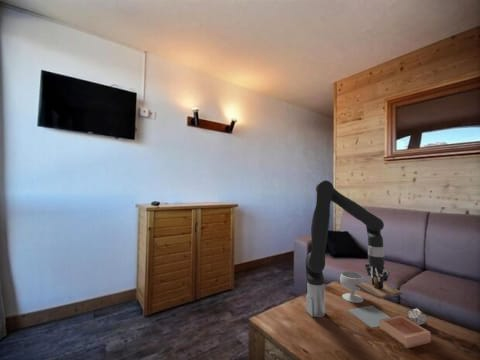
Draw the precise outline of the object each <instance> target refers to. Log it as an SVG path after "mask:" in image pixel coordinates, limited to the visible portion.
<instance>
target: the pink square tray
mask: <svg viewBox="0 0 480 360" xmlns="http://www.w3.org/2000/svg"><path fill="white" fill-rule="evenodd" d="M389 317H390V318H385V319H380V320H379V324H380V326H379V330H381V331H383V332H384V333H386V334H387V335H388V336H390V337H391V338H392V339H394V340H396V341H397V343H399V344H401V345H402V346H403V347H404V348H406V349H410V348H414V347H418V346H422V345H425V344H429V343H432V337H431V336H432V334H431V331H429V330H428V329H426V328H424V327H423V326H421V325H417V324H416V323H414V322H412V321H411V320H410V319H409V318H407V317H406V316H404V315H396V316H389Z"/></svg>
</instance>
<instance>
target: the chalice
mask: <svg viewBox="0 0 480 360" xmlns="http://www.w3.org/2000/svg"><path fill="white" fill-rule="evenodd" d="M339 277H340V278H339V281H340V284H341V285H342V286H343V287H344V288H346V289H347V290H348V291H349V292H348V293H343V294H342V295H341V297H342V299H343V300H345V301H347V302H348V303H349V302H350V303H353V304H361V303H363V302H364V298H363V297H362V296H360V295H359V294H357V293H356V294H355V292H356V291H360V290H361V289H360V288H358V287H357V286H355V284H359V283H364V282H365V280H364V277H363V276H362V274H360V273H359V272H355V271H349V270H348V271H342V272H341V274H340V276H339Z"/></svg>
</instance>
